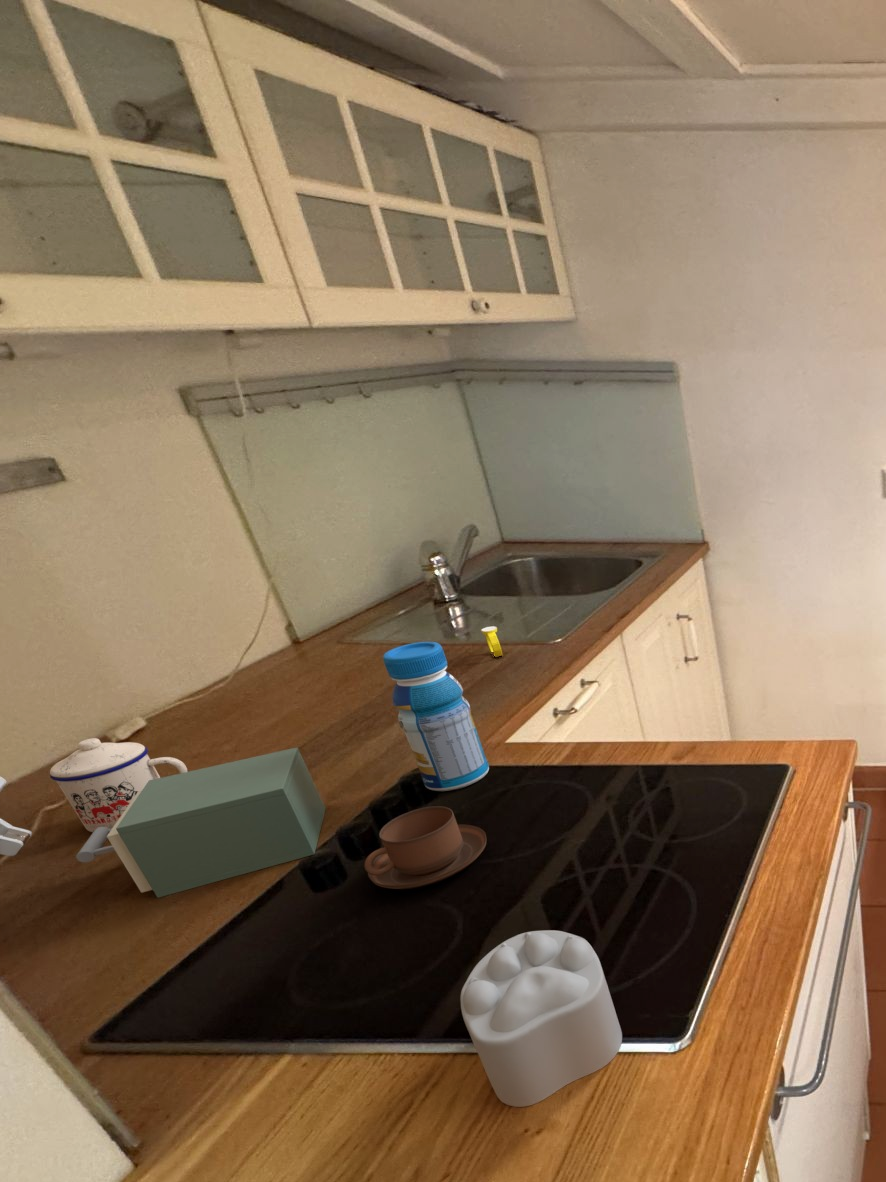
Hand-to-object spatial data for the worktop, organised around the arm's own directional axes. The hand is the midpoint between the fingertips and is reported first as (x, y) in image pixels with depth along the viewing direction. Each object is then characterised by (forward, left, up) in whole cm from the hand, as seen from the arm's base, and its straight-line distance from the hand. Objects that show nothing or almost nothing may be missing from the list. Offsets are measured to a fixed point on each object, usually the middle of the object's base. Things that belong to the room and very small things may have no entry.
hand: (24, 844), depth 85 cm
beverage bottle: (+40, +5, -8) cm, 41 cm away
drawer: (+13, 0, -7) cm, 15 cm away
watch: (+48, +59, -8) cm, 76 cm away
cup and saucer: (+37, -18, -8) cm, 42 cm away
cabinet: (+17, 0, -8) cm, 19 cm away
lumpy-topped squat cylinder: (+46, -54, -8) cm, 72 cm away
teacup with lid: (+3, +20, -8) cm, 21 cm away
